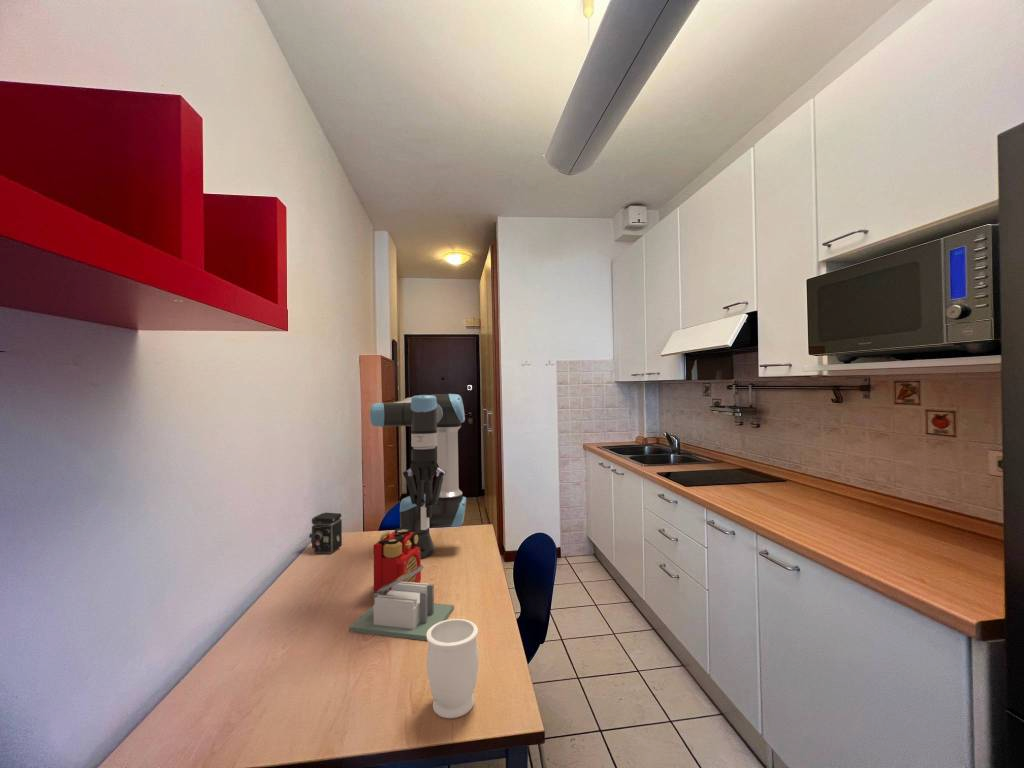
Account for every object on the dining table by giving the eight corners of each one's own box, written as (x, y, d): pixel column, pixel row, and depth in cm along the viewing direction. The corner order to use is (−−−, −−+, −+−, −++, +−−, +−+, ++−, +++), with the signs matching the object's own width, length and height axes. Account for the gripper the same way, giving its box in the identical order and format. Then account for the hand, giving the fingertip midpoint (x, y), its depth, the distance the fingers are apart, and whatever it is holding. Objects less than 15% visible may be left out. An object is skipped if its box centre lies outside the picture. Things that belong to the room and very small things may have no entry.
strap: (377, 598, 123) (374, 591, 123) (383, 593, 126) (380, 586, 126) (420, 574, 120) (416, 567, 120) (425, 570, 123) (422, 563, 123)
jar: (434, 730, 82) (432, 650, 82) (422, 696, 91) (421, 624, 91) (486, 713, 86) (485, 637, 86) (470, 682, 95) (469, 613, 96)
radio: (402, 604, 131) (401, 539, 132) (372, 602, 134) (371, 537, 134) (422, 582, 147) (422, 523, 148) (395, 580, 149) (395, 522, 150)
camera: (320, 546, 185) (320, 511, 185) (343, 547, 184) (343, 511, 184) (305, 555, 175) (305, 518, 175) (330, 556, 173) (329, 518, 174)
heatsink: (348, 631, 117) (348, 596, 117) (381, 602, 133) (381, 571, 134) (430, 641, 111) (430, 604, 112) (454, 609, 128) (453, 577, 128)
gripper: (398, 448, 124) (398, 531, 123) (440, 449, 121) (441, 533, 120) (409, 446, 131) (410, 523, 130) (449, 446, 129) (450, 525, 128)
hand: (425, 528), depth 125 cm, fingers closed
